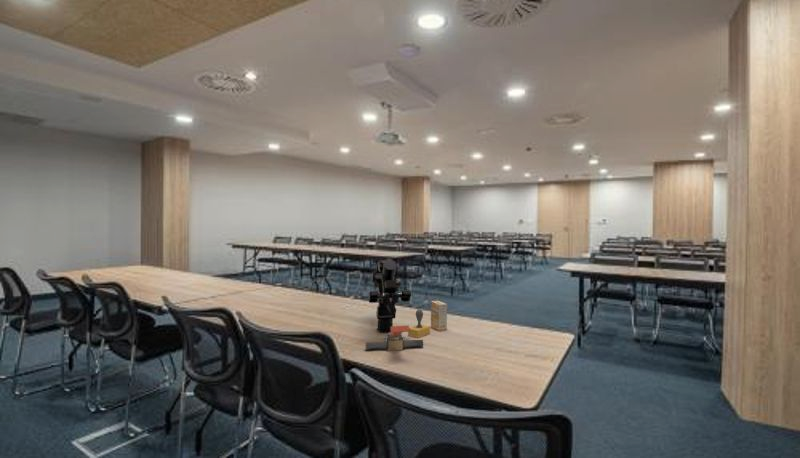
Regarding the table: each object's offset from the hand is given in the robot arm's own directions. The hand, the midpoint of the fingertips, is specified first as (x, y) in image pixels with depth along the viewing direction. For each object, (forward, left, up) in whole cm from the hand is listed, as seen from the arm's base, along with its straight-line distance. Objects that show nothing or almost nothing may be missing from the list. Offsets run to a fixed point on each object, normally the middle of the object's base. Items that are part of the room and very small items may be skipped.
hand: (391, 312), depth 168 cm
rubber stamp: (-17, -3, -14) cm, 22 cm away
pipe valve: (+3, +7, -13) cm, 15 cm away
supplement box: (-31, -6, -13) cm, 35 cm away
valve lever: (+3, +7, -8) cm, 11 cm away
